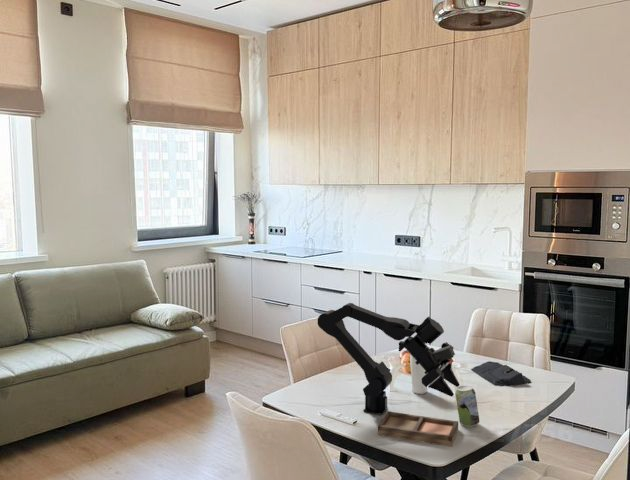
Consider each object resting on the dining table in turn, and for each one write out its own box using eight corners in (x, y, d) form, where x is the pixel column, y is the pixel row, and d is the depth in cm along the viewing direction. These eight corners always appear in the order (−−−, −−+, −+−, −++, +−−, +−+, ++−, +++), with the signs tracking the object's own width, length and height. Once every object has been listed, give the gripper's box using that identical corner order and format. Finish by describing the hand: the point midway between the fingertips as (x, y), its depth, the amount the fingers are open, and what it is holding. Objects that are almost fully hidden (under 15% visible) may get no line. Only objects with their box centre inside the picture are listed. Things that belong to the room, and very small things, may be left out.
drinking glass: (424, 396, 204) (425, 355, 203) (407, 392, 208) (407, 352, 206) (431, 390, 210) (432, 350, 209) (414, 387, 214) (414, 347, 212)
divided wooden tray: (377, 434, 174) (377, 425, 173) (388, 419, 185) (388, 411, 184) (451, 446, 165) (451, 437, 165) (458, 430, 176) (458, 421, 176)
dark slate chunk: (501, 367, 237) (502, 355, 237) (534, 385, 216) (534, 372, 216) (468, 370, 234) (468, 359, 233) (497, 388, 213) (497, 376, 212)
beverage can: (480, 429, 176) (480, 391, 175) (455, 428, 178) (455, 390, 177) (478, 421, 183) (479, 384, 181) (454, 419, 184) (455, 383, 183)
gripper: (432, 344, 173) (469, 384, 169) (445, 329, 190) (479, 366, 186) (406, 367, 177) (442, 407, 173) (421, 350, 194) (454, 387, 190)
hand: (455, 390), depth 181 cm, fingers open, 9 cm apart
